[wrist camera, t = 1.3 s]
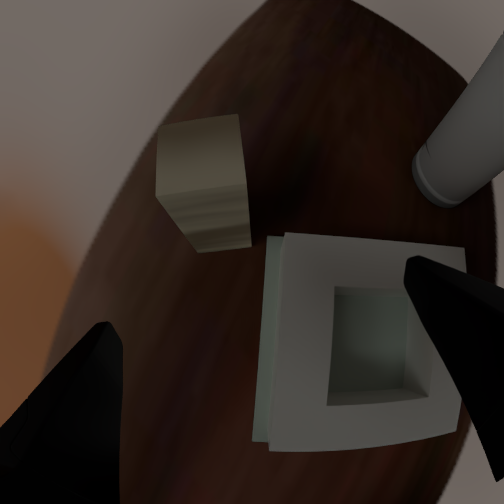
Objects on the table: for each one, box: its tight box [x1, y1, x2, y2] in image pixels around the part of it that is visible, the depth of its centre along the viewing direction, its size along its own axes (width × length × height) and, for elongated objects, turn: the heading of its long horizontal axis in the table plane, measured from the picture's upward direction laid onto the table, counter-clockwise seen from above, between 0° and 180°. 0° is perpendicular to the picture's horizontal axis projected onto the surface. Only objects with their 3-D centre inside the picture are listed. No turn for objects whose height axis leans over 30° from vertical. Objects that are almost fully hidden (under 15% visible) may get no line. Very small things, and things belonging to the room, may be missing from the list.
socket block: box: [252, 232, 466, 452], centre depth 18 cm, size 15×15×5 cm
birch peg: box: [156, 114, 252, 253], centre depth 18 cm, size 4×4×10 cm
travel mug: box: [412, 32, 504, 208], centre depth 14 cm, size 6×7×20 cm
